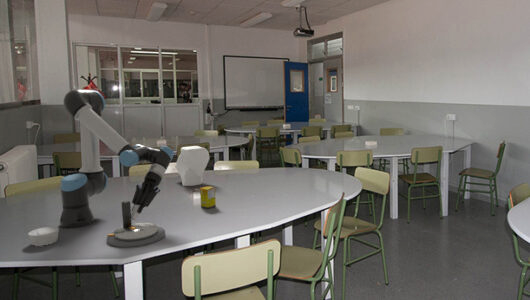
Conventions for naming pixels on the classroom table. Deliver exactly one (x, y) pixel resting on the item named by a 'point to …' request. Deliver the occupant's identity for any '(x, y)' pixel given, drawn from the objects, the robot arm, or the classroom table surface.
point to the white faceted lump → (192, 165)
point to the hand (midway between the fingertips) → (132, 218)
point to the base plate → (118, 243)
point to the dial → (133, 227)
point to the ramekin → (43, 236)
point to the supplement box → (207, 197)
